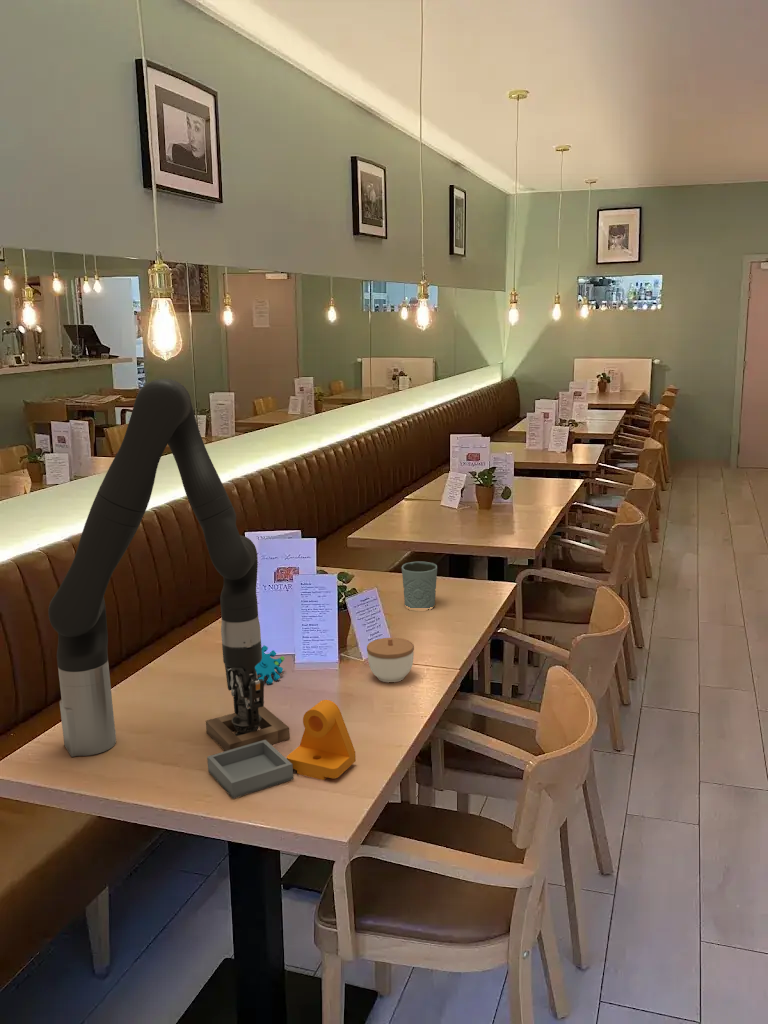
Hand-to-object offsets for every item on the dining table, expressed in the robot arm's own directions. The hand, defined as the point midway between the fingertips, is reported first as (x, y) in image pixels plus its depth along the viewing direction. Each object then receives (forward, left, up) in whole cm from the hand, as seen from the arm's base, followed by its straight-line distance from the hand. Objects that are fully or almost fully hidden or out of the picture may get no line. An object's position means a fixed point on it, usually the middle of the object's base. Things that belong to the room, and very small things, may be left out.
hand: (246, 718), depth 176 cm
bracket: (+6, -20, -4) cm, 21 cm away
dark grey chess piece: (0, 0, -4) cm, 4 cm away
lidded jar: (+39, +8, -4) cm, 40 cm away
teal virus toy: (+15, +24, -4) cm, 29 cm away
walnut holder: (0, 0, -4) cm, 4 cm away
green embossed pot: (+73, +46, -4) cm, 86 cm away
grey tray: (-6, -15, -4) cm, 17 cm away
